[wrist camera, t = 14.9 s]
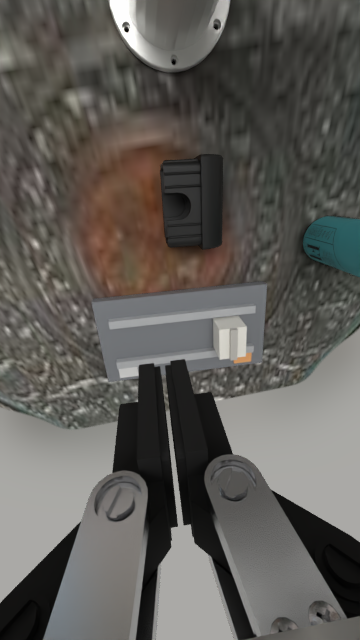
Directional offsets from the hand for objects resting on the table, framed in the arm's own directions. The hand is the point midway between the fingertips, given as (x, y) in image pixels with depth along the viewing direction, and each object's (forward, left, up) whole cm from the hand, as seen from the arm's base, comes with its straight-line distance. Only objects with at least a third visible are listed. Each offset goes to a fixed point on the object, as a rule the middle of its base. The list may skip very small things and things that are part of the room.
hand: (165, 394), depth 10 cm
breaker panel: (+14, +4, -32) cm, 35 cm away
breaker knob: (+14, +11, -30) cm, 35 cm away
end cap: (-5, +6, -32) cm, 33 cm away
